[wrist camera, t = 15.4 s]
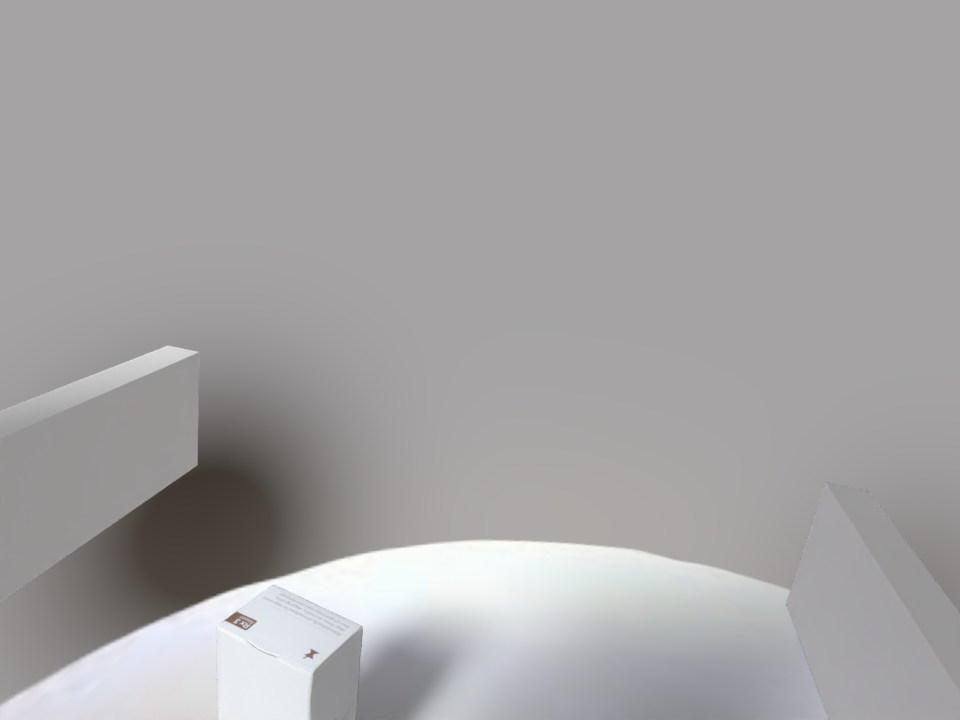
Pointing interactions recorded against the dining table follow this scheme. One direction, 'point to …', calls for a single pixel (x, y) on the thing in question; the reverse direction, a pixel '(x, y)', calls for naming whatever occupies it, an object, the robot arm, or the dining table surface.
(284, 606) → the skincare box
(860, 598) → the robot arm
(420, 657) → the dining table surface
